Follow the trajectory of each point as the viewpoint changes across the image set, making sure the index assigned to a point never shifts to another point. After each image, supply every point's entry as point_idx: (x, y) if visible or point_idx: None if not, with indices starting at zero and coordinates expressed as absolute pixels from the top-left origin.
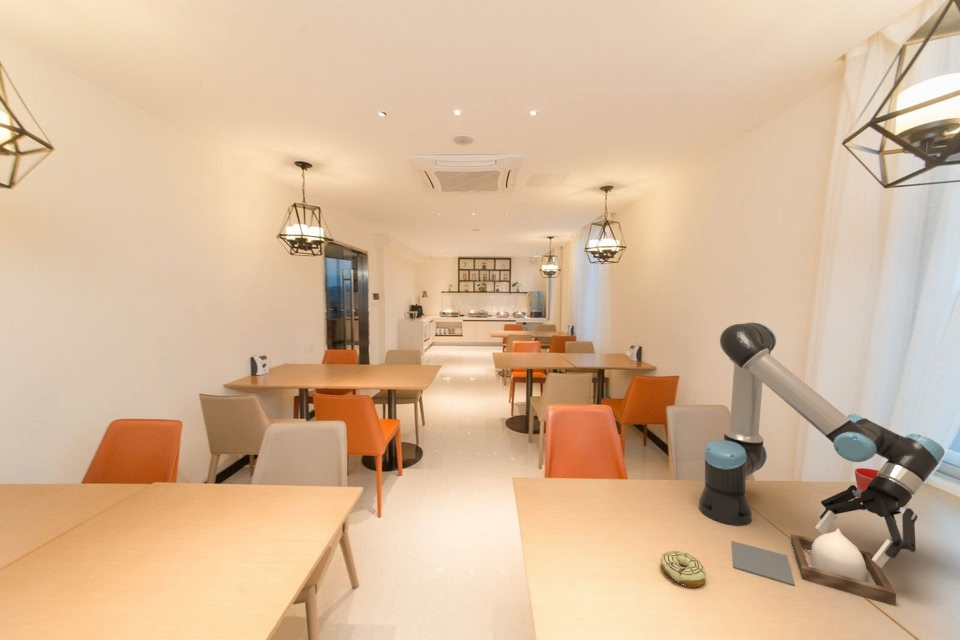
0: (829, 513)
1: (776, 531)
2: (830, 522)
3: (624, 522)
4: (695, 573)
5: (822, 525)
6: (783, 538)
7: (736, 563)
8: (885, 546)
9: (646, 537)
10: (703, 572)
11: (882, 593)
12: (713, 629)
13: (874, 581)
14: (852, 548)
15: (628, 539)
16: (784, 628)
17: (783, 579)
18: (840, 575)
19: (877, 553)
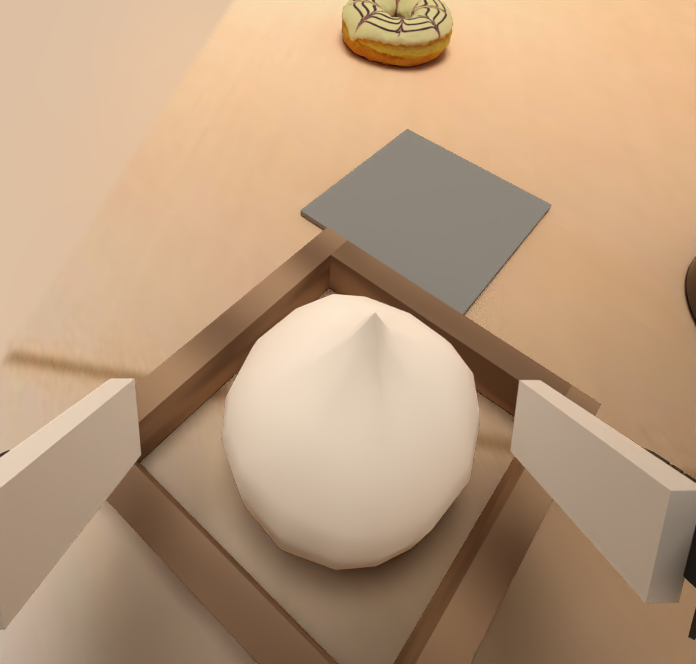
0: (644, 467)
1: (681, 448)
2: (579, 499)
3: (616, 45)
4: (354, 5)
5: (544, 416)
6: (613, 427)
7: (421, 143)
8: (19, 453)
9: (546, 52)
10: (360, 23)
11: None
12: (232, 10)
13: (238, 563)
14: (265, 379)
15: (532, 24)
16: (184, 92)
17: (330, 200)
18: (250, 322)
19: (94, 402)
